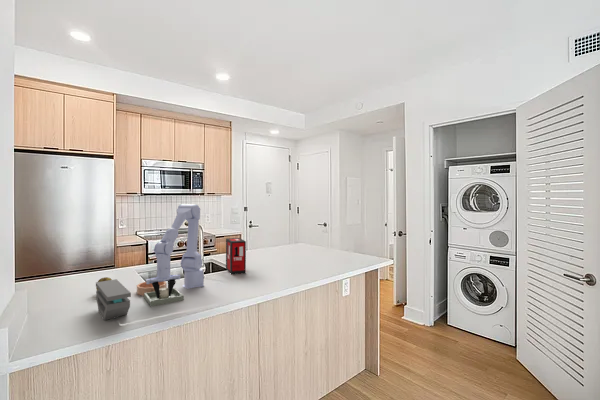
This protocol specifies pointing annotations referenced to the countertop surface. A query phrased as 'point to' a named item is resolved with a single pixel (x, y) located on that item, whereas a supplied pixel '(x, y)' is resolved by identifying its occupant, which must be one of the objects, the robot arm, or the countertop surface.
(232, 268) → the cleaning product box
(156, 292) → the robot arm
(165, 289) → the cream rounded capsule
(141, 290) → the bowl
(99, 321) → the countertop surface
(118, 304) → the grey storage case
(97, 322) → the countertop surface
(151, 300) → the parts tray
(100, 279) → the potato
